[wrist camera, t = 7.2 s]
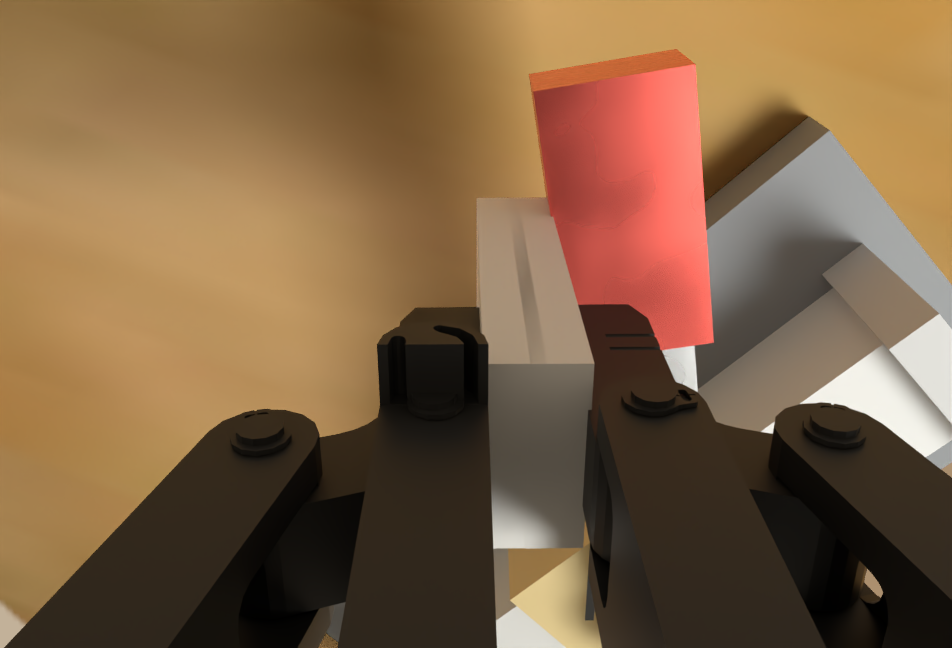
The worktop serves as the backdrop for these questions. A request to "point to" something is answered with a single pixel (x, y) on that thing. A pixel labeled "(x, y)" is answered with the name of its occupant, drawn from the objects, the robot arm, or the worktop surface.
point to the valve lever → (631, 192)
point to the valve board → (793, 246)
